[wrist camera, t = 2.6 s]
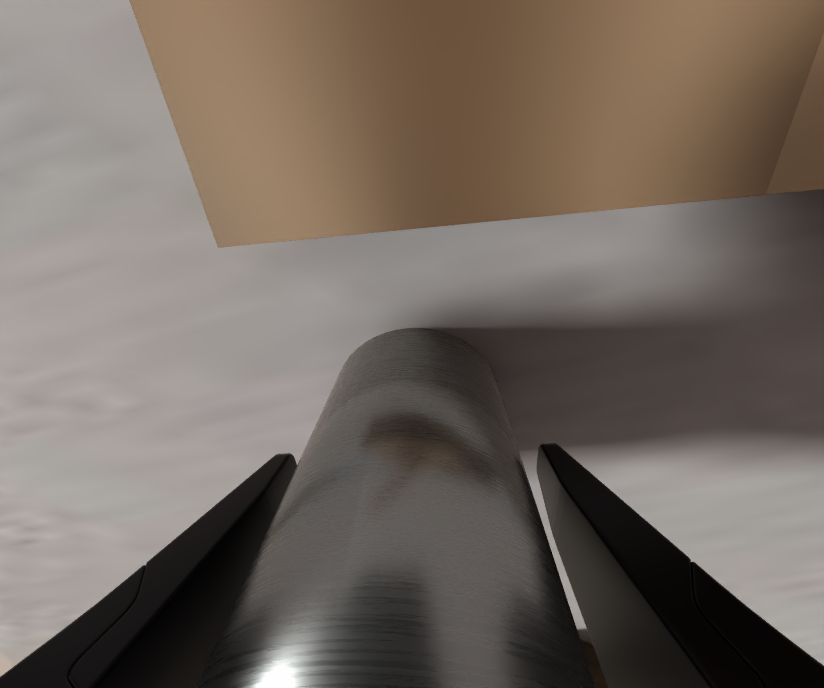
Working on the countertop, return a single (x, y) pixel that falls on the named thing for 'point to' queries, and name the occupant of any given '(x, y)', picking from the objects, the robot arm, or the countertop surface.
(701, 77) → the hole plate
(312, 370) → the countertop surface
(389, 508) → the peg
